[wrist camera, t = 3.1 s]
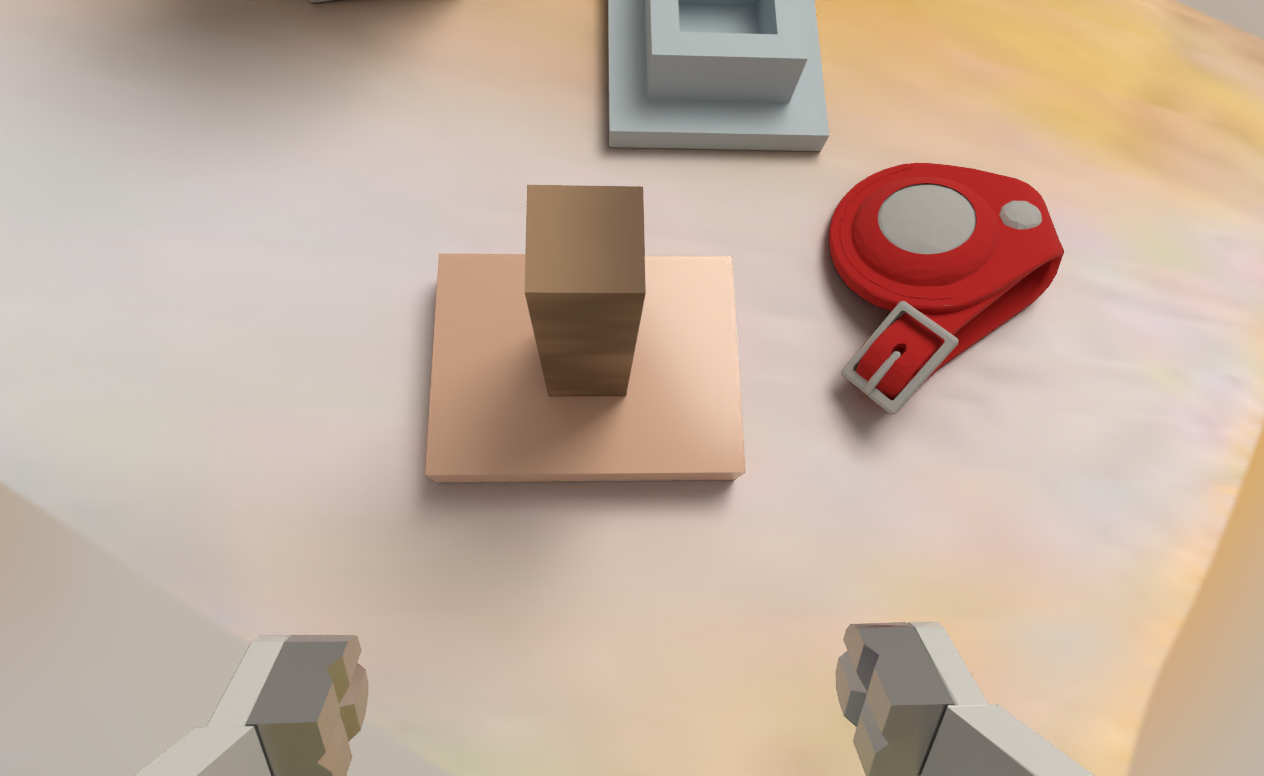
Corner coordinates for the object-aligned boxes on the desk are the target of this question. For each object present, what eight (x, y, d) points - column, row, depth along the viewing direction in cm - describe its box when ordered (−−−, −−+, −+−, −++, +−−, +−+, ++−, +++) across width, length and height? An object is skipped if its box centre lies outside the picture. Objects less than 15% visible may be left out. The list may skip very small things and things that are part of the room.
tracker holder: (807, 160, 32) (1043, 121, 30) (805, 225, 35) (1014, 194, 34) (855, 394, 26) (1151, 361, 24) (847, 442, 30) (1102, 416, 28)
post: (548, 396, 27) (524, 291, 17) (549, 323, 28) (527, 185, 18) (626, 396, 27) (645, 293, 17) (624, 323, 28) (642, 186, 18)
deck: (436, 482, 28) (424, 475, 26) (448, 274, 30) (439, 253, 28) (735, 479, 28) (745, 472, 26) (723, 276, 31) (732, 256, 29)
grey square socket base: (609, 147, 32) (611, 88, 28) (607, -26, 35) (609, -102, 31) (820, 151, 33) (851, 94, 29) (803, -20, 35) (828, -93, 32)
